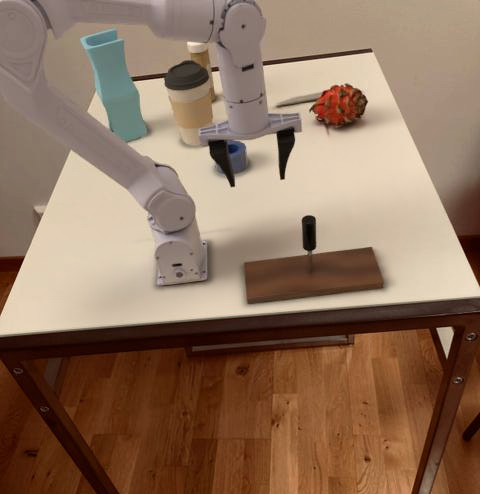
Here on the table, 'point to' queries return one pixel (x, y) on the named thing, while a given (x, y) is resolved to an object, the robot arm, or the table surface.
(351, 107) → the dragon fruit
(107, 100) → the vase
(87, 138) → the robot arm
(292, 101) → the chef's knife
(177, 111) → the coffee cup
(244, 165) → the utensil cup
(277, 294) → the cutting board
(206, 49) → the sprinkles bottle
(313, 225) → the screwdriver
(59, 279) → the table surface
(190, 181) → the table surface
